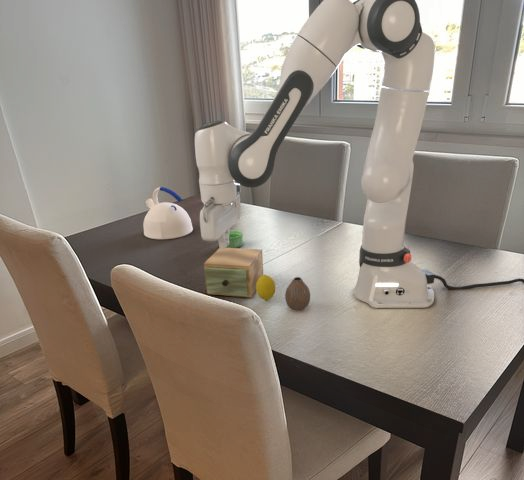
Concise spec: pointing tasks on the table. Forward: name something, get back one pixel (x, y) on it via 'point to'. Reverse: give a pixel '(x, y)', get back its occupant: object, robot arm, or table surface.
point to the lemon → (265, 287)
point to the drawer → (226, 281)
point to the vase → (297, 295)
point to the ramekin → (235, 239)
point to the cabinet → (239, 264)
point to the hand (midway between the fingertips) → (224, 246)
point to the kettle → (166, 218)
